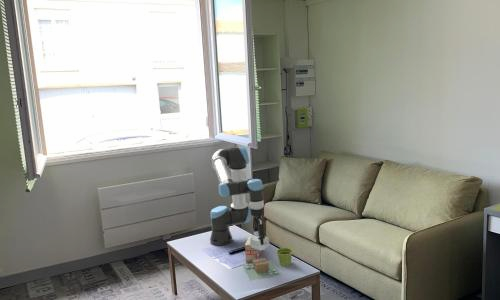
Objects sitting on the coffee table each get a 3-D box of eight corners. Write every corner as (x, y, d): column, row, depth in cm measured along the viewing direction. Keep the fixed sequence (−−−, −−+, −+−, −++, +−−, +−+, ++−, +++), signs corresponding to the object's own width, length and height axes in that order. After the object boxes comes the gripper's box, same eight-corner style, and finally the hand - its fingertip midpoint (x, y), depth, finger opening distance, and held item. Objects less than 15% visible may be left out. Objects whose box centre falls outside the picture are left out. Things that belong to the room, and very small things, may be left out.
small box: (269, 246, 232) (269, 237, 231) (259, 250, 227) (259, 241, 226) (259, 242, 238) (259, 234, 237) (249, 247, 233) (249, 238, 232)
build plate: (242, 267, 243) (241, 263, 242) (271, 262, 246) (271, 258, 246) (249, 282, 223) (249, 279, 223) (282, 277, 227) (281, 273, 227)
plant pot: (283, 270, 235) (282, 256, 233) (273, 264, 242) (273, 250, 241) (296, 265, 239) (296, 251, 238) (286, 260, 247) (286, 246, 246)
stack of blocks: (252, 249, 267) (250, 231, 265) (261, 249, 266) (260, 231, 264) (246, 264, 246) (244, 244, 244) (256, 264, 245) (255, 244, 243)
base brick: (253, 268, 237) (253, 259, 236) (265, 266, 239) (265, 257, 238) (256, 273, 231) (256, 265, 230) (269, 271, 232) (268, 263, 231)
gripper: (245, 202, 239) (248, 239, 243) (255, 214, 217) (258, 255, 220) (258, 201, 240) (261, 237, 244) (269, 212, 218) (271, 252, 222)
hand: (259, 246), depth 232 cm, fingers closed on small box, 10 cm apart
